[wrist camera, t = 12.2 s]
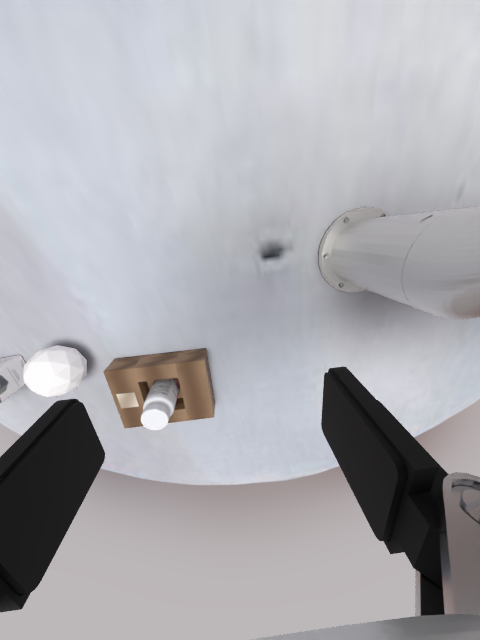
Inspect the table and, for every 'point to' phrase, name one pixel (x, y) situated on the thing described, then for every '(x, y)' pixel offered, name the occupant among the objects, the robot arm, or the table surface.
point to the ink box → (11, 375)
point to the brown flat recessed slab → (140, 372)
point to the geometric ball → (55, 371)
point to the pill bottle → (160, 403)
